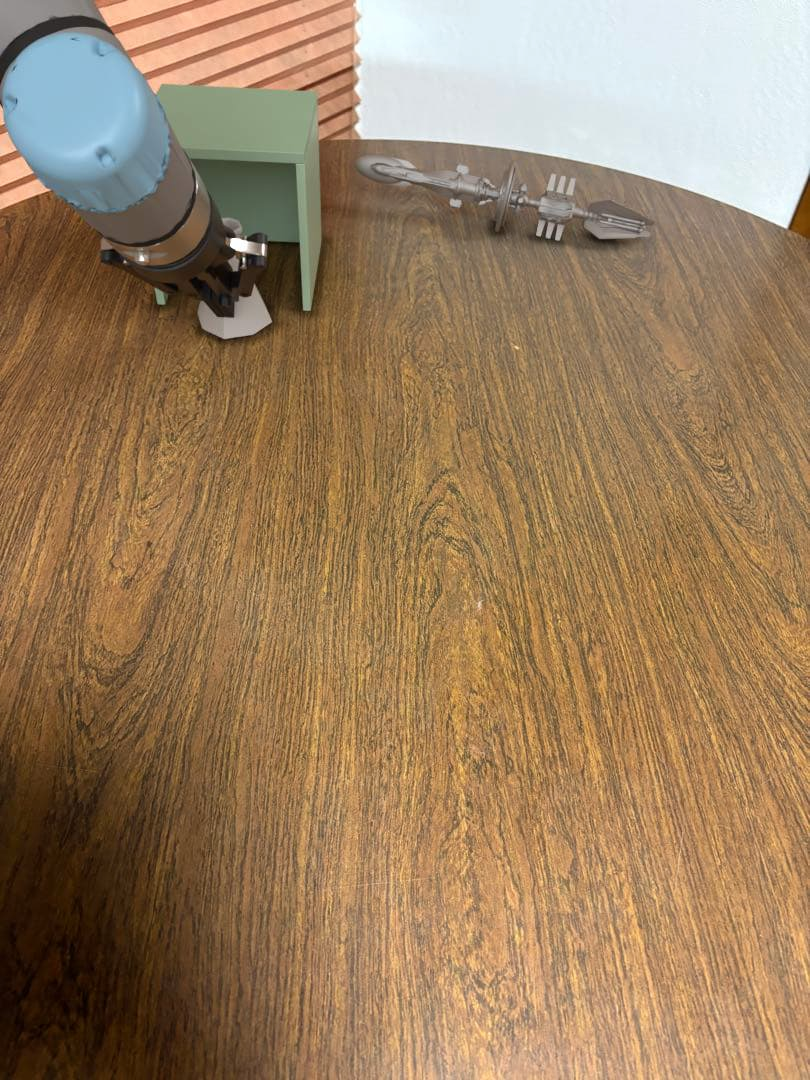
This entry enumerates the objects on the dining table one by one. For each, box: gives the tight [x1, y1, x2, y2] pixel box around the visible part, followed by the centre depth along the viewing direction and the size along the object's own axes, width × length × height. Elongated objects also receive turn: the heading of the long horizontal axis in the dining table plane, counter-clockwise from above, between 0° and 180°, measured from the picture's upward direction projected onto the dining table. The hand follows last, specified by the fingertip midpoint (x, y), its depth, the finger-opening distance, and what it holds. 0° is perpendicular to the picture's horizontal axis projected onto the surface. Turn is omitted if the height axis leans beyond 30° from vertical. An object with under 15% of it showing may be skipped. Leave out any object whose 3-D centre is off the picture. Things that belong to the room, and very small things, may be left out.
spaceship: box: [354, 153, 655, 242], centre depth 99 cm, size 8×35×8 cm
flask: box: [197, 217, 273, 340], centre depth 82 cm, size 7×7×10 cm
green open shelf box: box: [153, 83, 323, 312], centre depth 87 cm, size 15×16×16 cm
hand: (226, 303), depth 81 cm, fingers closed
